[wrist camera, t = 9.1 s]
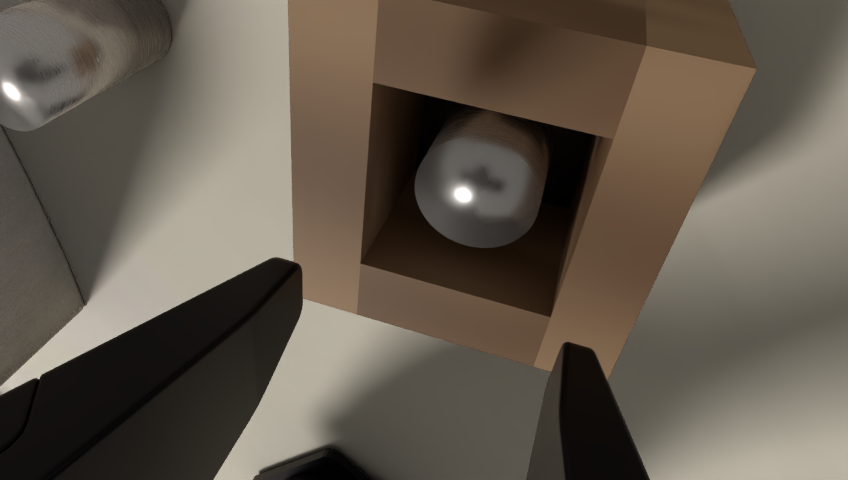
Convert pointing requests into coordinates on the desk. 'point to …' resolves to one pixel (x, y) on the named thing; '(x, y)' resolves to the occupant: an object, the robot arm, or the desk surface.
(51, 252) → the grey pentagonal slab
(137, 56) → the stand rod
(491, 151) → the hub
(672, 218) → the collar
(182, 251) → the desk surface
